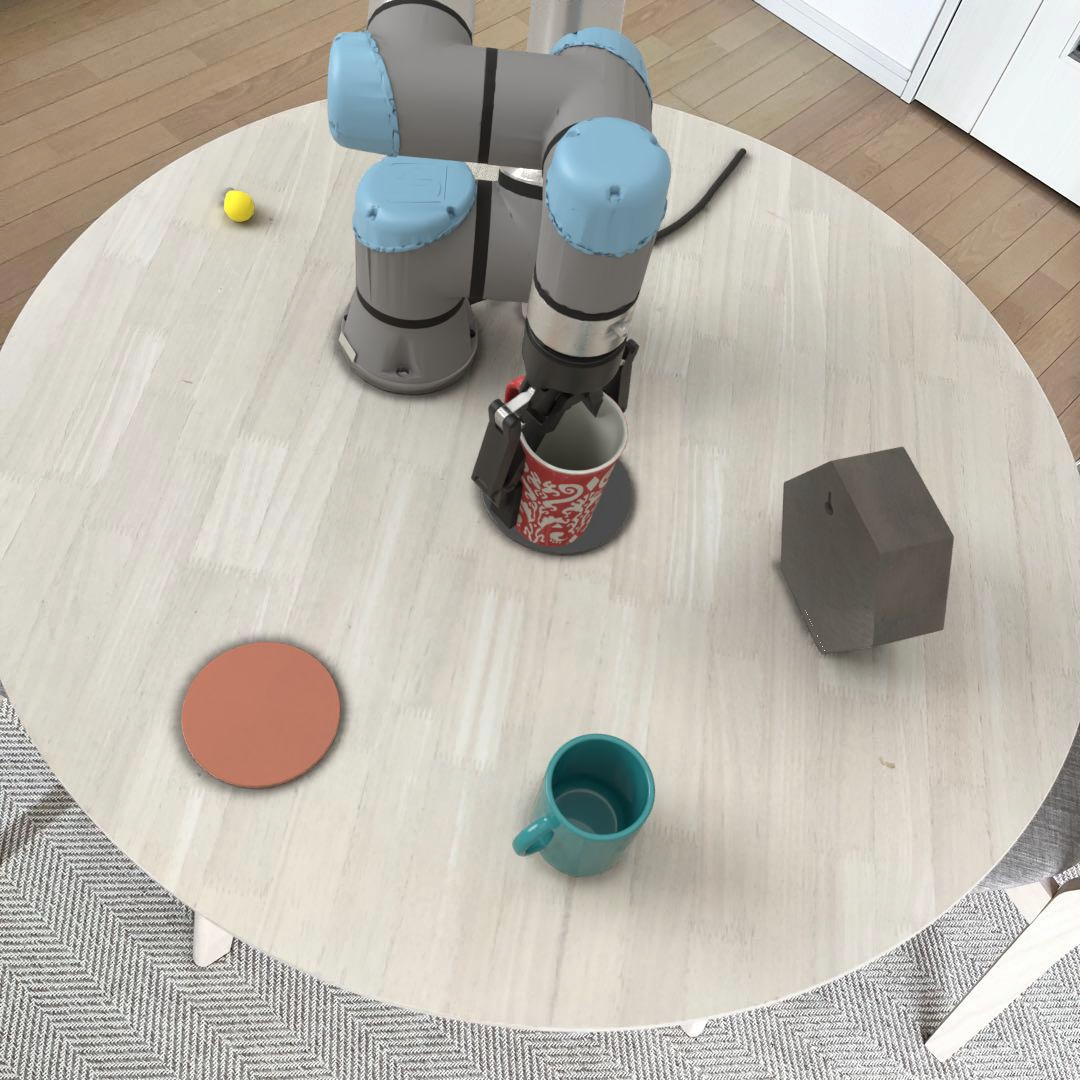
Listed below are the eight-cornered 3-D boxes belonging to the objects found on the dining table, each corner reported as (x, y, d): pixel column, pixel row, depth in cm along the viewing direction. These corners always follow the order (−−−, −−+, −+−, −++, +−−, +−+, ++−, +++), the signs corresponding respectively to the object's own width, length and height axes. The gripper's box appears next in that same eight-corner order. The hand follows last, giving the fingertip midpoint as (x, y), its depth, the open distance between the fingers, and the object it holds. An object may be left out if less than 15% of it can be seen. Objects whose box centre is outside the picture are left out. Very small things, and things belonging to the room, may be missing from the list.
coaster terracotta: (281, 617, 108) (281, 614, 108) (371, 724, 103) (371, 722, 103) (151, 702, 102) (150, 699, 102) (240, 820, 97) (239, 818, 97)
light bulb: (238, 232, 133) (223, 207, 130) (223, 210, 137) (208, 186, 134) (263, 217, 133) (248, 192, 131) (248, 196, 137) (233, 172, 134)
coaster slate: (561, 405, 125) (562, 403, 125) (661, 502, 120) (662, 499, 120) (449, 477, 119) (449, 474, 118) (550, 582, 113) (551, 580, 113)
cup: (481, 823, 100) (492, 780, 90) (595, 761, 104) (616, 714, 95) (533, 915, 96) (550, 880, 87) (649, 847, 100) (677, 807, 91)
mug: (619, 532, 102) (650, 446, 90) (533, 573, 98) (554, 489, 87) (546, 429, 106) (567, 335, 95) (462, 465, 103) (473, 372, 92)
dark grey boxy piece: (938, 678, 107) (961, 479, 98) (867, 697, 106) (884, 495, 96) (842, 598, 122) (854, 417, 113) (778, 613, 120) (785, 430, 111)
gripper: (500, 425, 76) (476, 583, 96) (713, 292, 85) (651, 462, 104) (431, 354, 79) (421, 522, 98) (645, 231, 87) (597, 409, 107)
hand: (540, 491), depth 101 cm, fingers closed on mug, 8 cm apart
